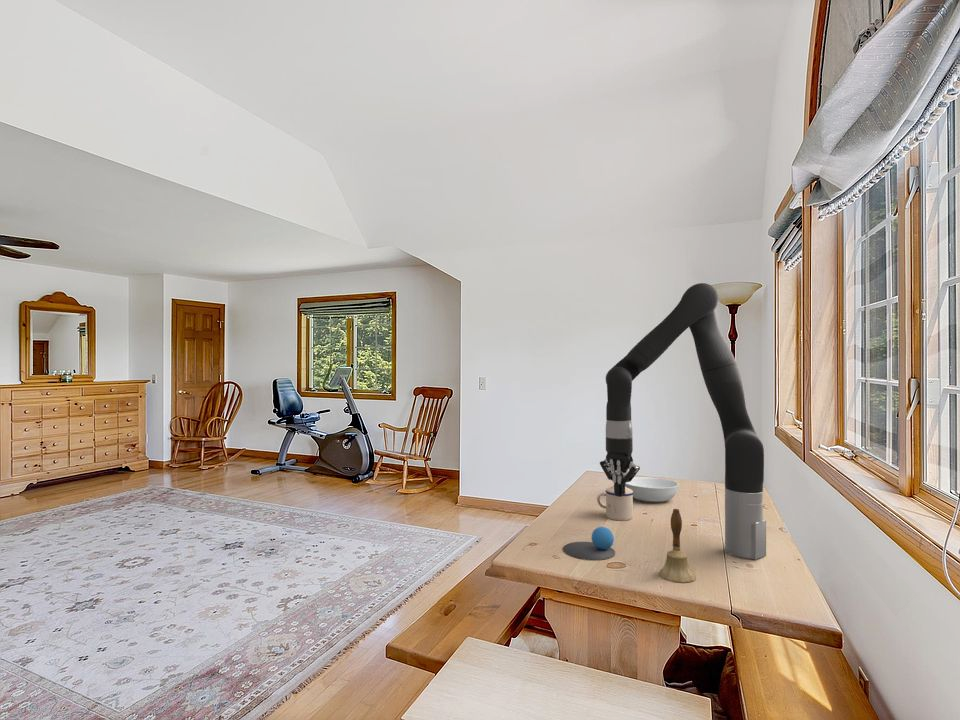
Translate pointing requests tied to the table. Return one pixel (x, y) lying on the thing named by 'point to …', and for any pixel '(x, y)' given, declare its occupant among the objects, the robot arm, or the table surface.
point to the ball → (602, 538)
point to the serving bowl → (652, 489)
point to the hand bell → (676, 556)
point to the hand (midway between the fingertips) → (619, 496)
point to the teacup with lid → (618, 504)
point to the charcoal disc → (587, 551)
